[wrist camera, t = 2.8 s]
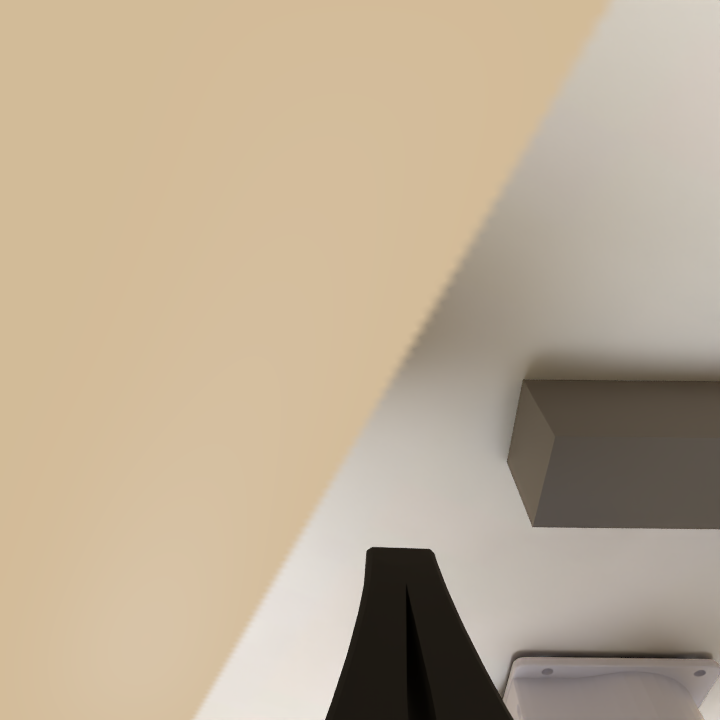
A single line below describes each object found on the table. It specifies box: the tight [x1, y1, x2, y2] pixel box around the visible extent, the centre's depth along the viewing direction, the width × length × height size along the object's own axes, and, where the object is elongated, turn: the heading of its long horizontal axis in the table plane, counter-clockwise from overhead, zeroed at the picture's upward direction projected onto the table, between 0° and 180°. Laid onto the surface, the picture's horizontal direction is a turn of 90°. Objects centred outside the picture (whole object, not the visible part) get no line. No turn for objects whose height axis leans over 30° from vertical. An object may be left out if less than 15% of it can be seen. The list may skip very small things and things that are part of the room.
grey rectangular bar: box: [507, 380, 720, 529], centre depth 15 cm, size 11×3×3 cm, turn 90°
